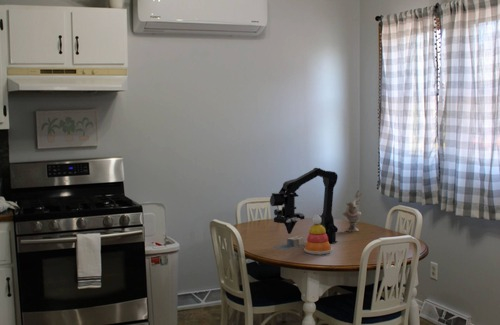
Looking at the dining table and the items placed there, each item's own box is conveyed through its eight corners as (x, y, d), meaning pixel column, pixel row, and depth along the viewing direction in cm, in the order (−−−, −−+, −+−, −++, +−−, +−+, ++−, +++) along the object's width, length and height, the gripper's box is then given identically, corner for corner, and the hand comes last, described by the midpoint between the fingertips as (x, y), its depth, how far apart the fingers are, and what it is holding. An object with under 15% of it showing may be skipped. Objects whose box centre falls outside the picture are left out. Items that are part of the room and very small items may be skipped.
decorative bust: (354, 232, 324) (354, 190, 326) (340, 231, 335) (340, 190, 337) (368, 232, 330) (367, 190, 332) (354, 231, 341) (353, 190, 343)
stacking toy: (337, 252, 283) (337, 214, 282) (321, 257, 273) (321, 218, 271) (314, 247, 293) (314, 211, 291) (298, 252, 282) (298, 215, 280)
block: (293, 246, 294) (303, 244, 300) (293, 240, 294) (303, 237, 300) (287, 245, 298) (296, 242, 304) (287, 238, 298) (296, 236, 303)
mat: (310, 244, 300) (310, 244, 300) (285, 250, 286) (285, 250, 286) (296, 241, 307) (296, 241, 307) (271, 247, 294) (271, 247, 294)
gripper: (290, 201, 306) (290, 229, 307) (266, 205, 293) (266, 234, 295) (305, 203, 298) (305, 232, 299) (281, 207, 285) (281, 237, 287)
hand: (289, 233), depth 295 cm, fingers closed
